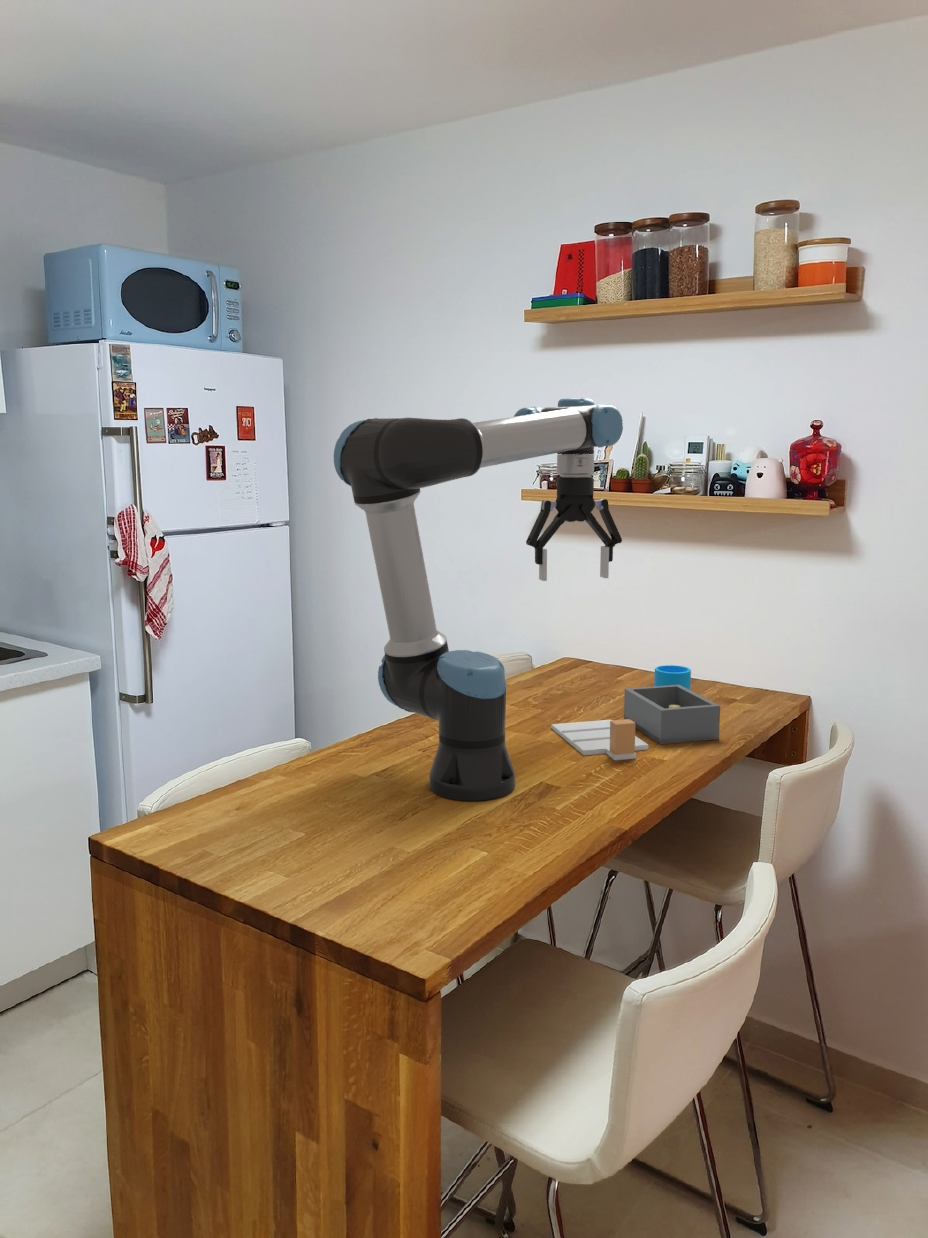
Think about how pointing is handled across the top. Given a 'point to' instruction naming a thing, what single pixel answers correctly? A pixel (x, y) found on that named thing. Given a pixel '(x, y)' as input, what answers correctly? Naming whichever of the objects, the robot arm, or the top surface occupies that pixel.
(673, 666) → the mug
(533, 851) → the top surface
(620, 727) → the lid
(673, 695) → the tub
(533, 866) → the top surface
